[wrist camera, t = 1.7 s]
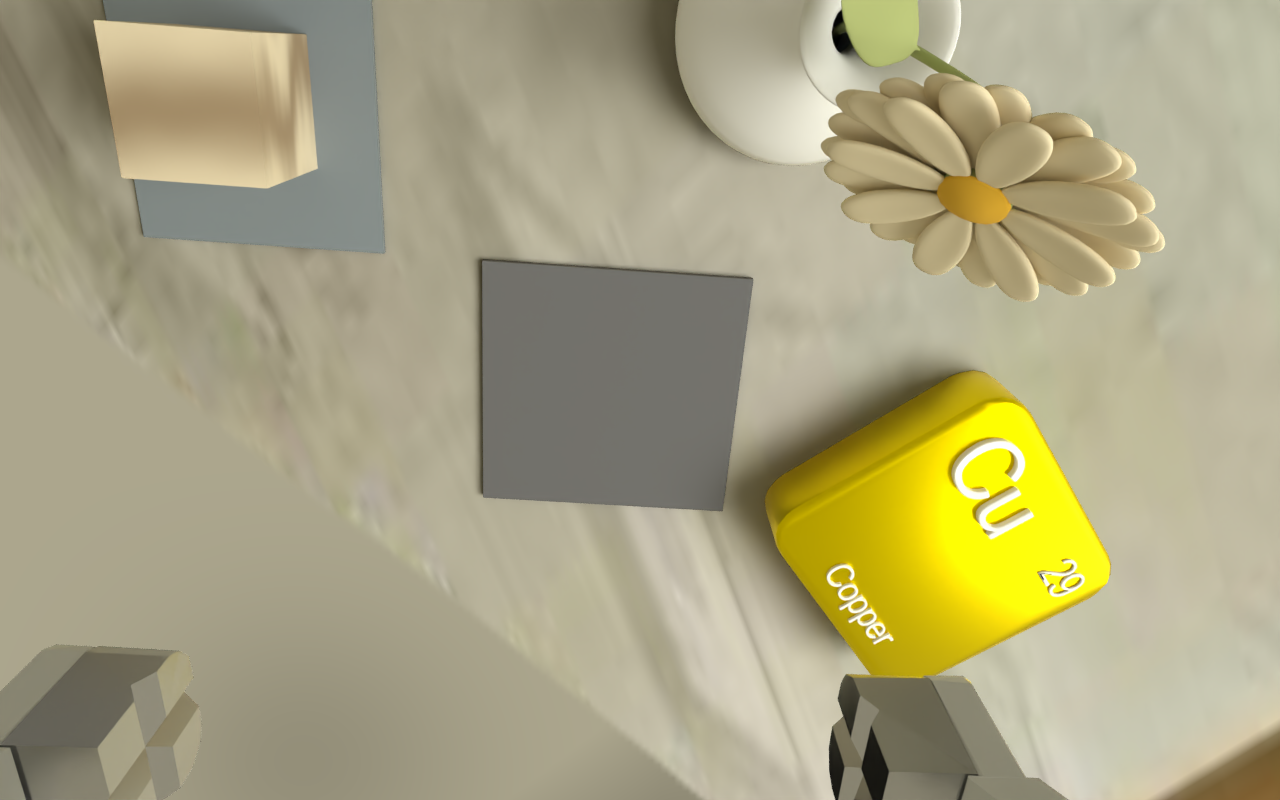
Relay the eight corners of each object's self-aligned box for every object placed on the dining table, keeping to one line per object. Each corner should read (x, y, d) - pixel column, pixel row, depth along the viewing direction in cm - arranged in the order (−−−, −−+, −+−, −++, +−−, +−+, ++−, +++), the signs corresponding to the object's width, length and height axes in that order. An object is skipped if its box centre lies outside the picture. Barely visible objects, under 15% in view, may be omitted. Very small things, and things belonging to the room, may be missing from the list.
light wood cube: (173, 23, 37) (93, 20, 31) (306, 34, 37) (250, 32, 32) (192, 159, 39) (121, 178, 34) (317, 168, 40) (267, 188, 34)
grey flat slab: (91, -83, 35) (88, -84, 35) (368, -59, 36) (367, -60, 36) (145, 236, 41) (143, 236, 41) (385, 252, 41) (383, 253, 41)
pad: (483, 259, 42) (481, 260, 41) (752, 278, 42) (753, 279, 42) (484, 494, 47) (483, 497, 47) (721, 508, 48) (722, 511, 48)
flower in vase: (626, -8, 37) (620, -96, 14) (851, -169, 34) (1289, -591, 12) (764, 233, 41) (932, 467, 18) (971, 106, 39) (1459, 192, 16)
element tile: (750, 489, 48) (762, 534, 43) (981, 353, 45) (1019, 386, 40) (870, 653, 53) (892, 708, 48) (1086, 541, 50) (1130, 589, 45)
